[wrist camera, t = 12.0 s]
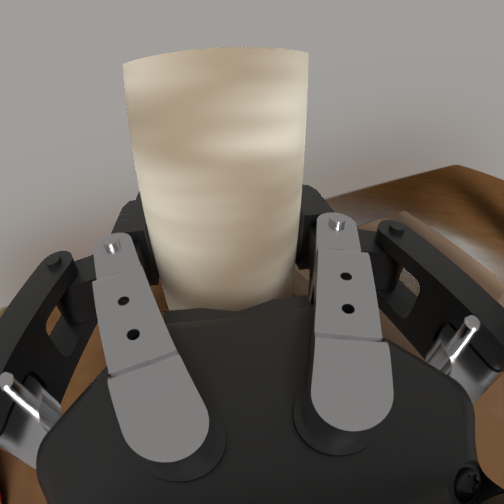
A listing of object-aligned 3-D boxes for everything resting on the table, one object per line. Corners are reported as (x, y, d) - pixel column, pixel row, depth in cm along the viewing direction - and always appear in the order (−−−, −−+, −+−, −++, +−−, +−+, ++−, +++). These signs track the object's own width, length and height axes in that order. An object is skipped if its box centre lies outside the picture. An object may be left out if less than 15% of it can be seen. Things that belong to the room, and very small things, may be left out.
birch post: (255, 315, 18) (254, 56, 9) (300, 378, 14) (349, 57, 6) (177, 344, 16) (119, 68, 7) (210, 418, 12) (130, 56, 4)
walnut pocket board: (399, 230, 30) (404, 210, 28) (495, 305, 20) (507, 286, 18) (278, 276, 24) (279, 252, 22) (395, 411, 14) (412, 393, 12)
